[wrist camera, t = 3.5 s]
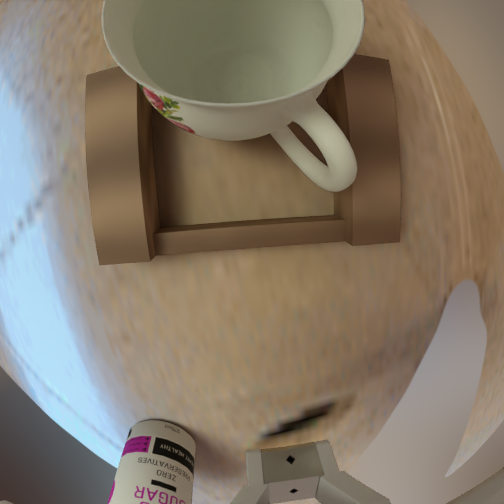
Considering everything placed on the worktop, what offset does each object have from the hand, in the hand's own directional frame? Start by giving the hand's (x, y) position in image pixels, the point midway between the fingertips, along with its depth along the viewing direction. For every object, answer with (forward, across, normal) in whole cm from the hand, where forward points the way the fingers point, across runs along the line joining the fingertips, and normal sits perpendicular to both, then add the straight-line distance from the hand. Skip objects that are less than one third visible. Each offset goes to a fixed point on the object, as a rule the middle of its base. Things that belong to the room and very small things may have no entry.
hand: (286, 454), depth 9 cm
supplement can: (+17, +12, +19) cm, 28 cm away
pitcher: (+16, 0, -16) cm, 23 cm away
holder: (+16, 0, -11) cm, 20 cm away
